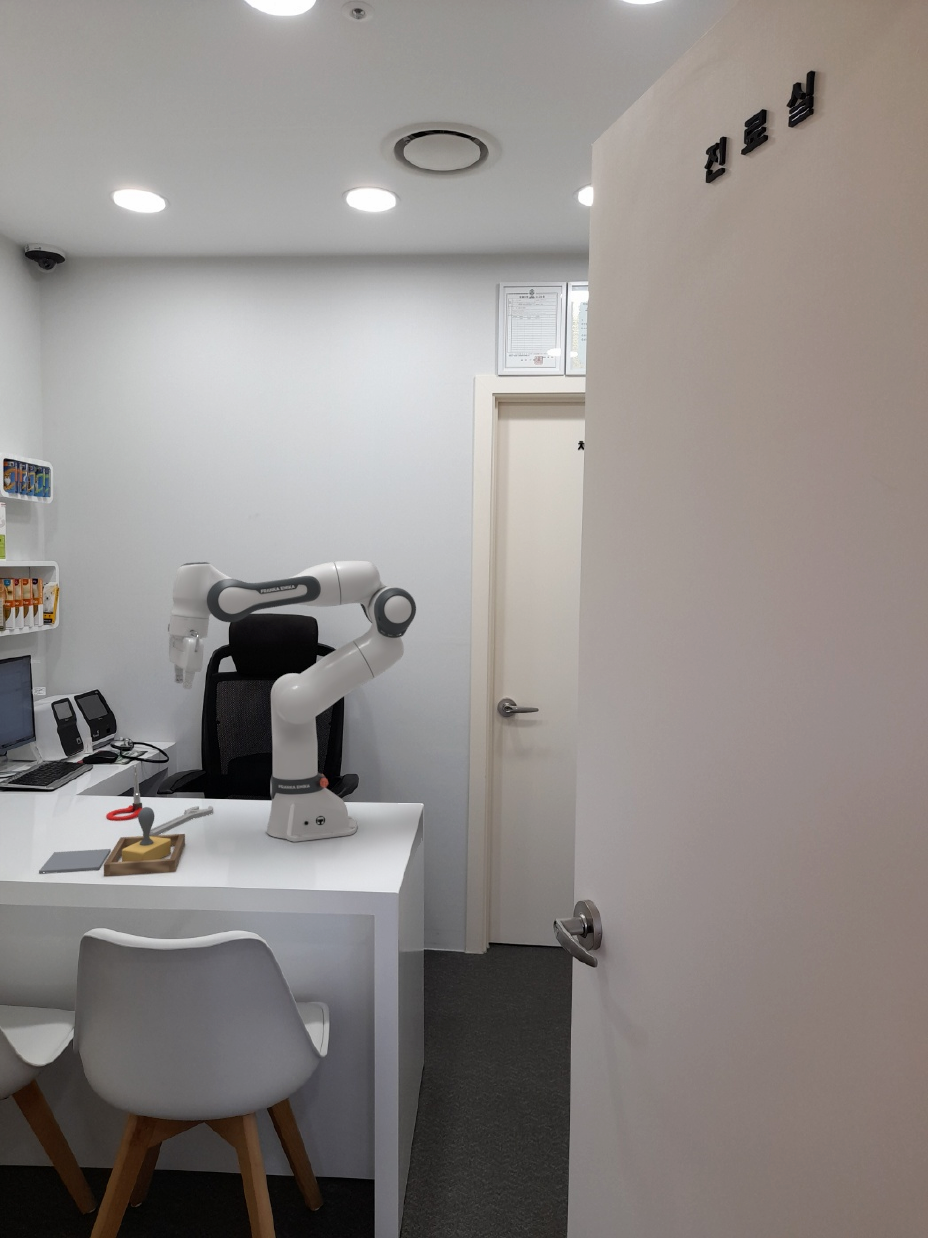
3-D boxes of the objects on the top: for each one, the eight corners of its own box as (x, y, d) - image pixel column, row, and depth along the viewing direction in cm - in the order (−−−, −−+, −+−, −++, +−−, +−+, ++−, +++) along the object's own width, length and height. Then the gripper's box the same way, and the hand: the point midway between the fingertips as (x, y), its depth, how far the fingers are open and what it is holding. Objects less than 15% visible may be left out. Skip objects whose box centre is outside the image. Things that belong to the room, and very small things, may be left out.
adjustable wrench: (149, 841, 199) (149, 834, 199) (129, 838, 201) (128, 831, 201) (217, 813, 222) (217, 806, 222) (198, 810, 225) (198, 804, 224)
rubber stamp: (150, 851, 191) (149, 800, 190) (171, 854, 189) (171, 802, 188) (120, 865, 181) (120, 812, 181) (142, 868, 180) (142, 814, 179)
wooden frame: (185, 844, 196) (185, 833, 196) (175, 871, 178) (174, 860, 178) (120, 848, 193) (120, 837, 192) (103, 876, 175) (103, 864, 174)
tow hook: (119, 824, 212) (150, 814, 220) (116, 775, 211) (147, 767, 218) (99, 819, 216) (130, 809, 224) (96, 771, 215) (127, 763, 223)
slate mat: (110, 851, 190) (110, 849, 190) (99, 870, 178) (99, 867, 178) (54, 854, 188) (54, 852, 187) (39, 873, 176) (39, 871, 176)
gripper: (212, 633, 190) (206, 693, 190) (192, 626, 207) (186, 680, 208) (184, 631, 186) (178, 691, 187) (166, 624, 204) (160, 679, 204)
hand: (182, 685), depth 197 cm, fingers open, 8 cm apart
